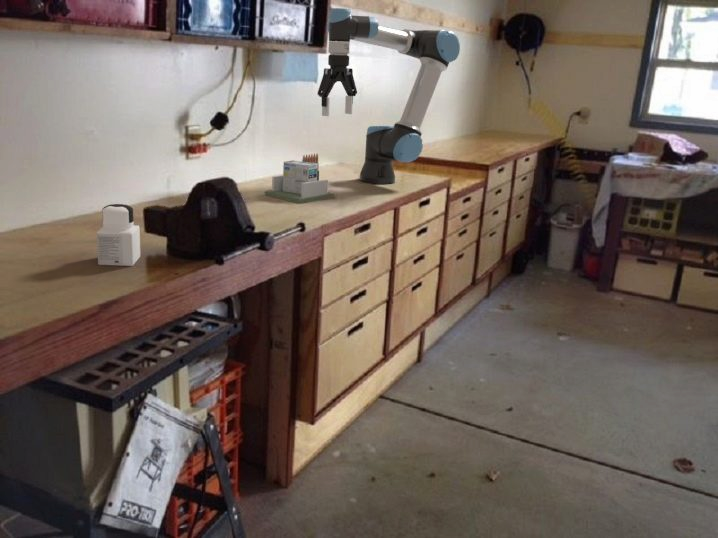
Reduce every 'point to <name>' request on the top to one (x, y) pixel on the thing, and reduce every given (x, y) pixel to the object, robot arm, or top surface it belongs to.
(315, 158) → the ammunition clip
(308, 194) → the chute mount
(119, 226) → the container
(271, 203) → the top surface
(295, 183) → the light bulb box
